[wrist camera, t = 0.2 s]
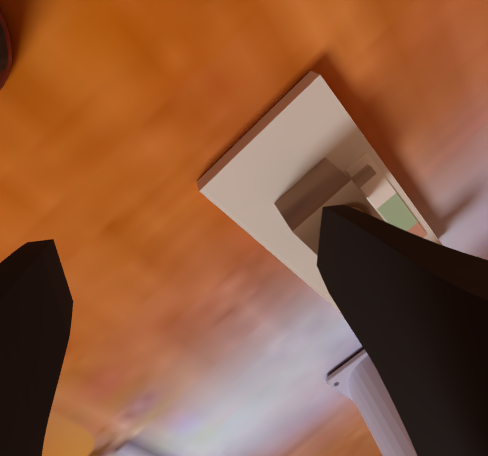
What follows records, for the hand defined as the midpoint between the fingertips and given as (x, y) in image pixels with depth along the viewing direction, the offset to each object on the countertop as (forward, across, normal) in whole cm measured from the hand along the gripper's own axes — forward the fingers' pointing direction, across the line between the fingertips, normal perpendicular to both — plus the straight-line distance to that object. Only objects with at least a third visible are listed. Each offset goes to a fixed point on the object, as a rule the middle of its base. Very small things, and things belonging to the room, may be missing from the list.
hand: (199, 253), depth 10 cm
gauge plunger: (+9, -8, +3) cm, 12 cm away
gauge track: (+10, -9, +6) cm, 15 cm away
